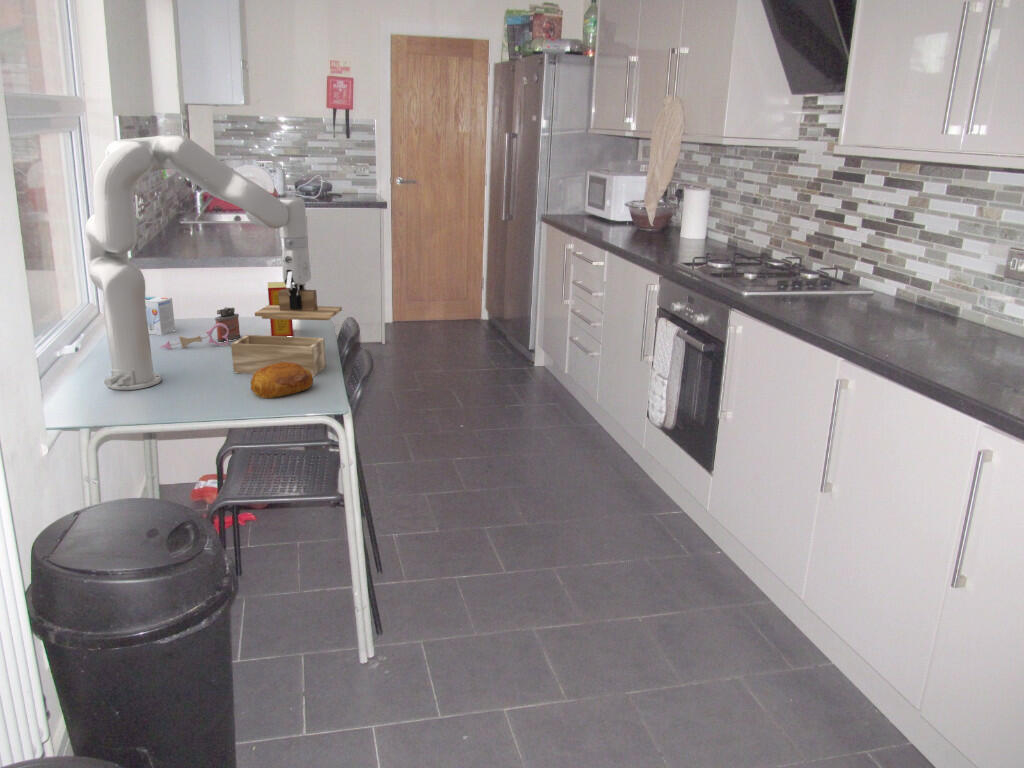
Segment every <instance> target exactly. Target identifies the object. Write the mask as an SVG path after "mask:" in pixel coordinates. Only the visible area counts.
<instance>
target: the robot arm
mask: <svg viewBox="0 0 1024 768" xmlns="http://www.w3.org/2000/svg"><path fill="white" fill-rule="evenodd" d="M165 170H174V171H175V172H177V173H178V174H181V176H183V177H184V178H187V180H190V181H191V182H192V183H194V184H195V185H197V186H198V187H200V188H201V190H203V191H205V192H207V193H208V194H210V195H211V196H212V197H215V198H217V199H218V200H221V201H225V202H227V203H230V204H231V205H234V206H236V207H238V208H240V209H242V210H244V211H245V214H246V218H247V219H248V221H250V222H251V223H252V224H253V225H256V226H258V227H259V226H260V227H264V228H268V229H273V230H277V229H278V239H279V250H282V251H281V252H282V254H281V255H282V257H281V261H282V262H281V264H282V266H281V267H282V268H281V269H282V280H283V281H282V282H284V284H285V285H286V289H287V290H288V291H289V300H290V309H294V310H300V309H302V305H301V295H299V290H307V289H306V284H307V283H308V282H309V281H310V280H311V279H312V276H311V275H312V274H311V265H310V258H309V257H310V256H309V252H308V249H309V245H308V244H309V242H308V231H307V230H308V229H307V216H306V215H307V214H306V213H307V212H306V203H305V200H304V199H303V198H301V197H298V196H297V197H295V196H293V197H292V196H289V197H288V196H287V197H281V198H277V197H276V196H275V195H273V194H272V193H270V192H269V191H267V190H266V189H265V188H263V187H262V186H261V185H259V184H258V183H256V182H254V181H252V180H251V179H248V177H246V176H244V175H242V173H240V172H238V171H236V170H235V169H233V168H232V167H230V166H229V165H227V164H225V162H223V161H221V160H220V159H219V158H217V157H216V156H215V155H213V154H211V153H210V152H209V151H207V149H205V148H203V147H202V146H200V144H198V143H196V142H195V141H193V140H192V139H190V138H189V137H188V136H184V135H180V134H162V135H155V136H147V137H146V136H145V137H135V138H124V139H123V138H122V139H116V140H114V141H112V142H111V143H109V144H108V145H107V147H106V149H105V152H104V159H103V161H102V162H101V163H100V165H99V167H98V168H97V171H96V172H95V176H94V179H93V206H94V207H93V208H94V209H93V211H94V213H93V214H91V216H90V217H89V218H88V220H86V224H85V228H84V239H85V249H86V257H87V266H88V273H89V277H90V279H91V281H92V283H93V284H94V285H95V287H97V289H99V290H101V291H102V294H103V295H102V296H103V315H104V318H103V319H104V324H105V328H106V329H105V330H106V336H107V345H108V352H109V358H110V359H109V360H110V364H111V371H110V373H111V376H110V377H108V378H106V379H104V381H103V382H104V383H103V384H104V386H105V387H108V388H110V389H113V390H117V391H129V390H132V391H133V390H140V389H141V390H142V389H146V388H149V387H153V386H156V385H157V384H159V383H161V381H162V375H161V374H159V373H157V372H155V371H154V365H153V364H154V362H153V354H152V348H151V339H150V334H149V330H148V322H147V315H146V304H145V296H146V280H145V276H144V273H143V272H142V270H141V269H140V267H139V266H137V265H136V264H135V263H134V262H132V261H131V260H129V255H128V252H130V251H131V250H132V249H133V248H134V247H135V245H136V243H137V229H136V219H135V209H134V191H135V186H136V185H137V183H138V181H139V180H140V179H141V178H142V177H144V176H146V175H147V174H148V173H151V172H159V171H165Z"/></svg>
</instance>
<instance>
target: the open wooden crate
mask: <svg viewBox="0 0 1024 768" xmlns="http://www.w3.org/2000/svg"><path fill="white" fill-rule="evenodd" d="M230 347H231V358H232V367H233V373H234V372H237V373H236V374H242V373H249V374H248V375H254V373H256V372H257V371H258V370H259V369H260V368H263V367H266V366H269V365H272V364H275V363H280V362H289V363H296V364H299V365H301V366H302V367H303V368H304V369H307V370H309V371H310V372H311V374H312V378H314V377H316V376H317V375H318V374H319V373H320V372H321V371H322V370H324V369H325V368H326V367H327V363H326V362H327V359H326V342H325V337H309V336H293V337H287V336H271V335H260V334H259V335H256V334H246V335H243V336H242V337H241V338H240V339H237V340H235V341H234V342H232V343H231V344H230Z"/></svg>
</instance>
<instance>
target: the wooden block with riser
mask: <svg viewBox="0 0 1024 768" xmlns="http://www.w3.org/2000/svg"><path fill="white" fill-rule="evenodd" d="M278 295H279V305H269V304H268V305H266V306H265V307H263V308H261V309H259V310H257V311H255V312H254V317H261V319H262V320H263V319H264V320H270V319H292V321H293V320H296V321H297V320H298V321H301V320H303V321H330V320H331V319H332V318H334V317H335V316H336V315H337V314H339V313H340V312H341V311H342V310H343V307H342V306H321V305H319V306H318V297H317V295H318V294H317V289H306V290H299V295H301V305H302V309H300V310H294V309H290V300H289V291H288V290H287V289H282V290H280V291H278Z"/></svg>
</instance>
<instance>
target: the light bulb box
mask: <svg viewBox="0 0 1024 768" xmlns="http://www.w3.org/2000/svg"><path fill="white" fill-rule="evenodd" d="M145 304H146V315H147V322H148V330H149V335H153V334H154V336H164V335H166V334H165V333H167V334H169V333H168V332H170V333H172V332H171V331H173V330H175V331H176V325H175V324H176V323H175V317H174V316H175V315H174V307H173V298H172V297H163V296H153V295H152V296H151V295H145ZM173 332H174V331H173ZM155 334H156V335H155ZM163 334H164V335H163Z"/></svg>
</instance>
